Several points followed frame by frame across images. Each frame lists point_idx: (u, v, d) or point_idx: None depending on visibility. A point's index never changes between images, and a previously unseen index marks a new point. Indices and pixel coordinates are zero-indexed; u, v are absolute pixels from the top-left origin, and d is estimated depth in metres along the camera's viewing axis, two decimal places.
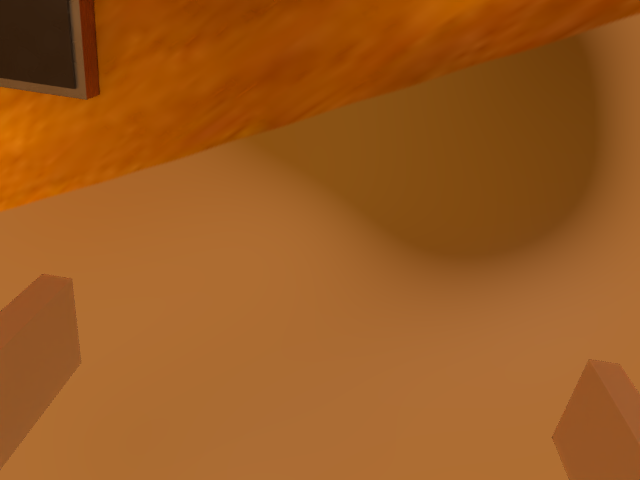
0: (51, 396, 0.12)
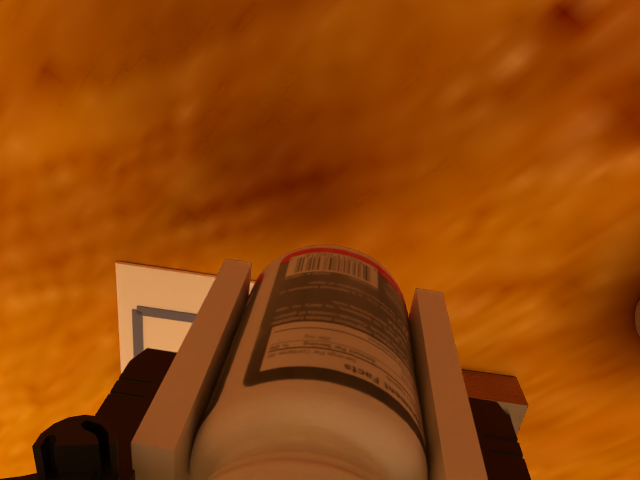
0: None
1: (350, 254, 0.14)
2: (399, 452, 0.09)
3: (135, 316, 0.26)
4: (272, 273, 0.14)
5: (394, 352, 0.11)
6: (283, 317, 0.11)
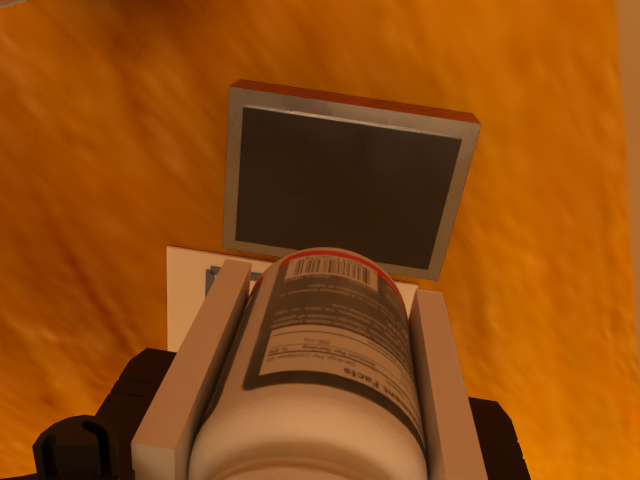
0: None
1: (350, 257, 0.14)
2: (399, 457, 0.09)
3: None
4: (271, 276, 0.14)
5: (394, 355, 0.11)
6: (282, 320, 0.11)
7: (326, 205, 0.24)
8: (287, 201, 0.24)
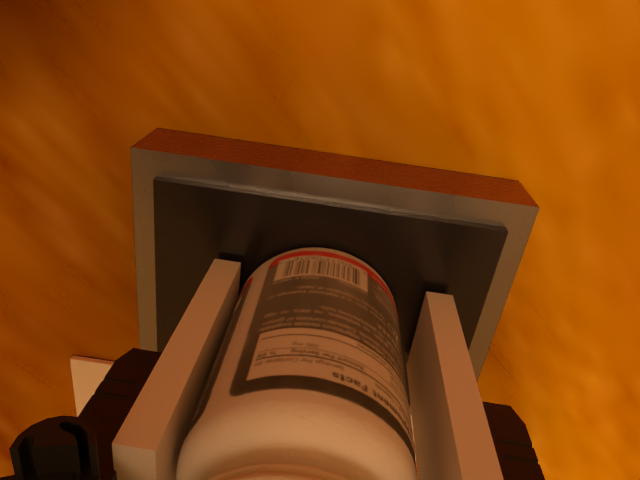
0: None
1: (340, 257, 0.14)
2: (388, 462, 0.09)
3: None
4: (260, 277, 0.13)
5: (384, 358, 0.11)
6: (271, 322, 0.11)
7: None
8: None
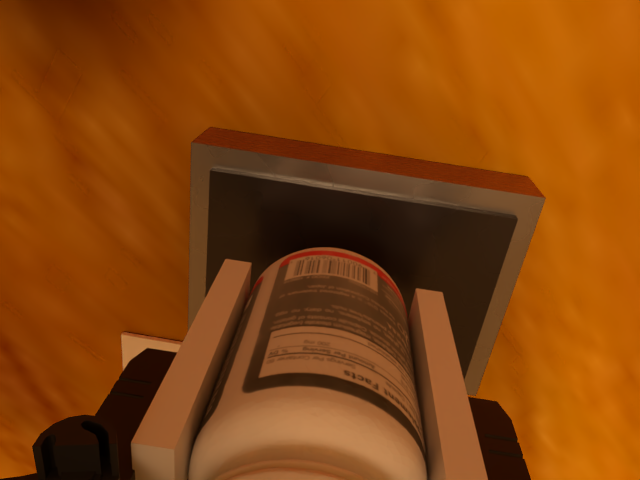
0: None
1: (350, 257, 0.14)
2: (398, 460, 0.09)
3: None
4: (271, 276, 0.14)
5: (394, 356, 0.11)
6: (282, 321, 0.11)
7: None
8: None
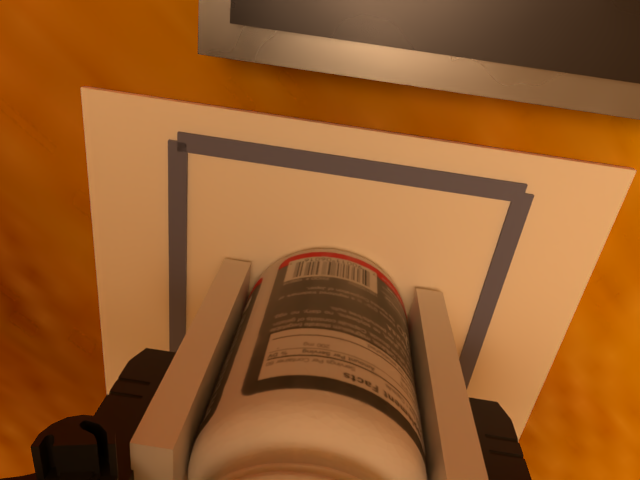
0: None
1: (350, 258, 0.14)
2: (399, 462, 0.09)
3: None
4: (270, 278, 0.14)
5: (394, 359, 0.11)
6: (281, 323, 0.11)
7: None
8: None
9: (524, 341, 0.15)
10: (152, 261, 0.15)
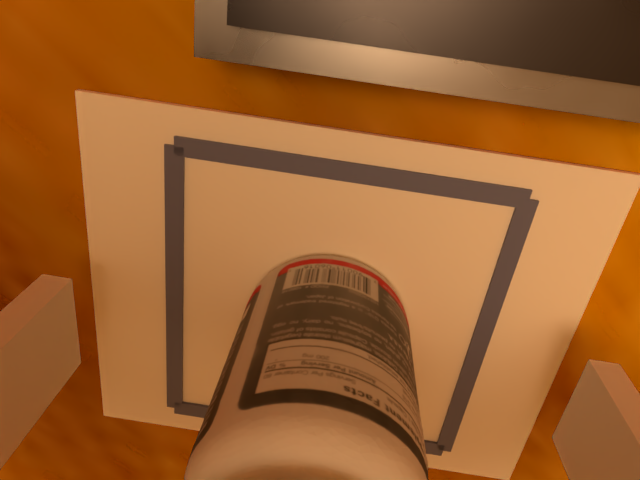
0: (51, 396, 0.12)
1: (350, 265, 0.13)
2: None
3: (188, 410, 0.17)
4: (269, 285, 0.13)
5: (395, 370, 0.11)
6: (280, 333, 0.11)
7: None
8: None
9: (528, 349, 0.15)
10: (149, 267, 0.15)
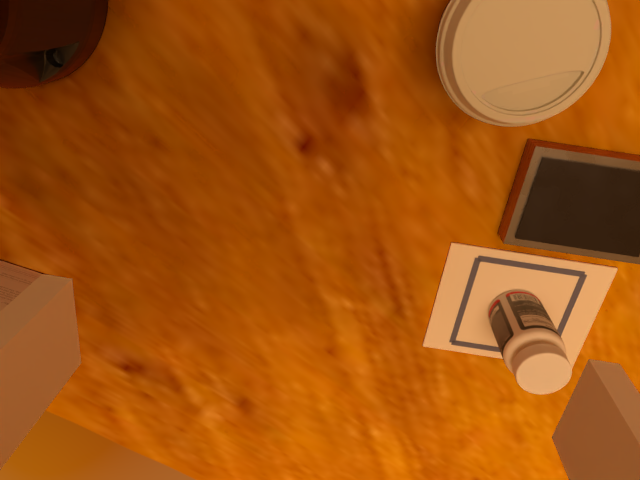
0: (51, 396, 0.12)
1: (528, 293, 0.44)
2: (561, 344, 0.39)
3: (456, 343, 0.47)
4: (504, 299, 0.43)
5: (552, 322, 0.41)
6: (521, 313, 0.41)
7: (581, 216, 0.39)
8: (556, 214, 0.39)
9: (581, 320, 0.45)
10: (457, 293, 0.45)
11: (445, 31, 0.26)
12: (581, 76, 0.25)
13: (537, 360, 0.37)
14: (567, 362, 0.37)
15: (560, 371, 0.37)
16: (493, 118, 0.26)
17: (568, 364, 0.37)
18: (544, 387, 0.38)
